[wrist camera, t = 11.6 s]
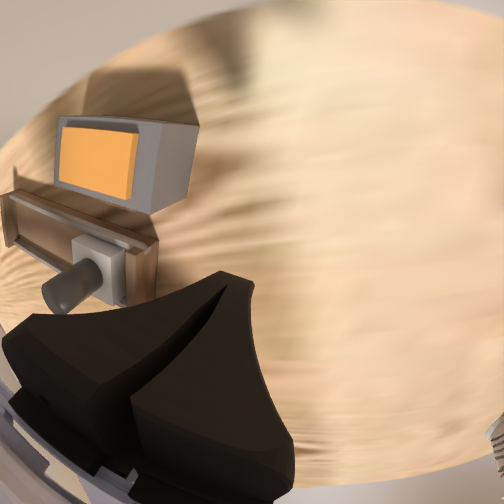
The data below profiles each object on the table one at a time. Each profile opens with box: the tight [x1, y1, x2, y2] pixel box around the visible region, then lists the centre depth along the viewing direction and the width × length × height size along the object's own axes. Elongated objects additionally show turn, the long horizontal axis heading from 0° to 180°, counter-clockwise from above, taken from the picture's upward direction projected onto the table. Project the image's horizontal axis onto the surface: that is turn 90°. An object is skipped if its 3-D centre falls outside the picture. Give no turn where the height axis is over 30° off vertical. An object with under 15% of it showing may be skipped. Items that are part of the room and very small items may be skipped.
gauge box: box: [54, 115, 200, 215], centre depth 18 cm, size 6×10×5 cm, turn 76°
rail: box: [0, 189, 159, 308], centre depth 24 cm, size 7×24×3 cm, turn 76°
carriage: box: [42, 233, 125, 315], centre depth 20 cm, size 5×5×7 cm
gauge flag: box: [59, 127, 139, 200], centre depth 15 cm, size 4×7×1 cm, turn 76°
